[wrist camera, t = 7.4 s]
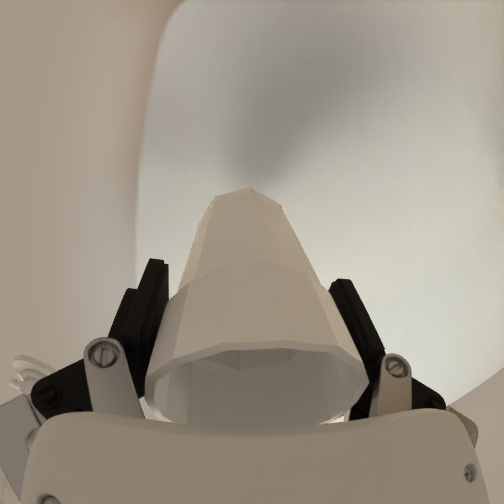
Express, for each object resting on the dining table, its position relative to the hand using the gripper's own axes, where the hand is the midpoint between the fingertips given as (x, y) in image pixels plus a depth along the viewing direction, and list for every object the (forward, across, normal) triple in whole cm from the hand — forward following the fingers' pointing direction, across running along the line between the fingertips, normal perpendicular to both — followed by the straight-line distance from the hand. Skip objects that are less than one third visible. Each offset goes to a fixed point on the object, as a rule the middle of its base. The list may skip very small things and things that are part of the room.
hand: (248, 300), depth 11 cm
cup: (+6, 0, 0) cm, 6 cm away
